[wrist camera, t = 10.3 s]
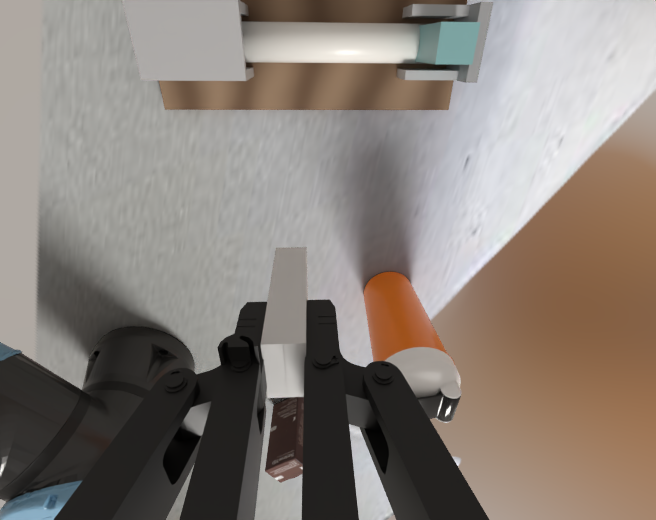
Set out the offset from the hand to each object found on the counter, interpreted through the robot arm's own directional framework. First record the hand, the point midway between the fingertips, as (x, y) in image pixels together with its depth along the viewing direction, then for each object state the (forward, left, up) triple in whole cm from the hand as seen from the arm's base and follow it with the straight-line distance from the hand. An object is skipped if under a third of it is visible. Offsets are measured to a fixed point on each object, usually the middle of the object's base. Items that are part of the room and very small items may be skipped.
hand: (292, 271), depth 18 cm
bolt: (+4, +10, -25) cm, 27 cm away
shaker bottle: (+12, -21, -27) cm, 36 cm away
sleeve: (-9, +10, -25) cm, 29 cm away
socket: (+13, +10, -25) cm, 30 cm away
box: (-3, -46, -27) cm, 53 cm away
